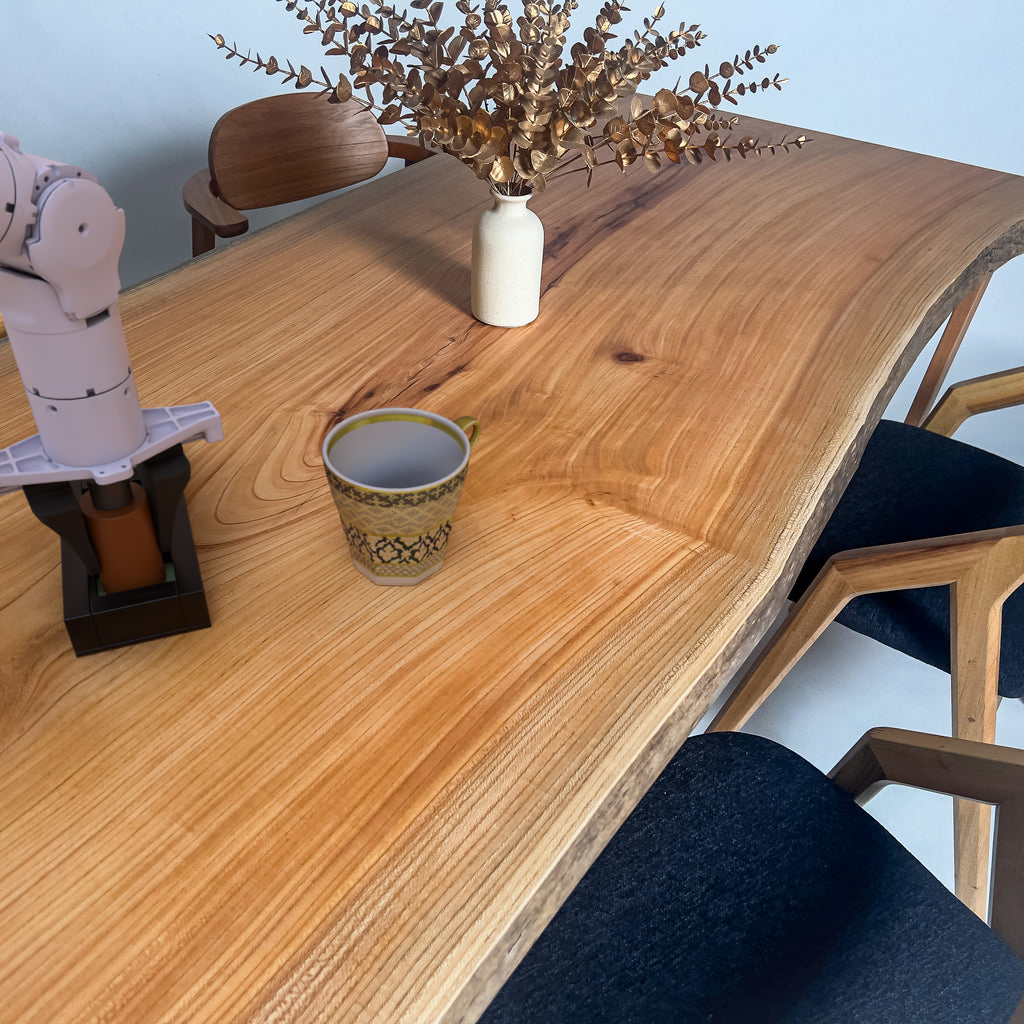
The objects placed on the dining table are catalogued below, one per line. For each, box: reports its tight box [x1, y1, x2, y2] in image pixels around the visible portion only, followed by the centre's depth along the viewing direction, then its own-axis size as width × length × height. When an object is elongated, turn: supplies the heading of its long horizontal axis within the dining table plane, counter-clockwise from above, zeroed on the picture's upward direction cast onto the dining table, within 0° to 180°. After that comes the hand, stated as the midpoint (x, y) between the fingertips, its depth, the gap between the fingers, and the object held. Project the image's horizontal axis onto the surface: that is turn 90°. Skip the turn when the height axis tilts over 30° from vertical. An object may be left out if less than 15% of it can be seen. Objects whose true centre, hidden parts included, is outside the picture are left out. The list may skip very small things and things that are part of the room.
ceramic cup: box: [320, 406, 481, 587], centre depth 65 cm, size 13×10×10 cm
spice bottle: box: [79, 478, 166, 594], centre depth 58 cm, size 4×4×9 cm
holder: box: [59, 467, 213, 658], centre depth 66 cm, size 8×22×3 cm, turn 22°
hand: (127, 554), depth 60 cm, fingers closed on spice bottle, 4 cm apart
